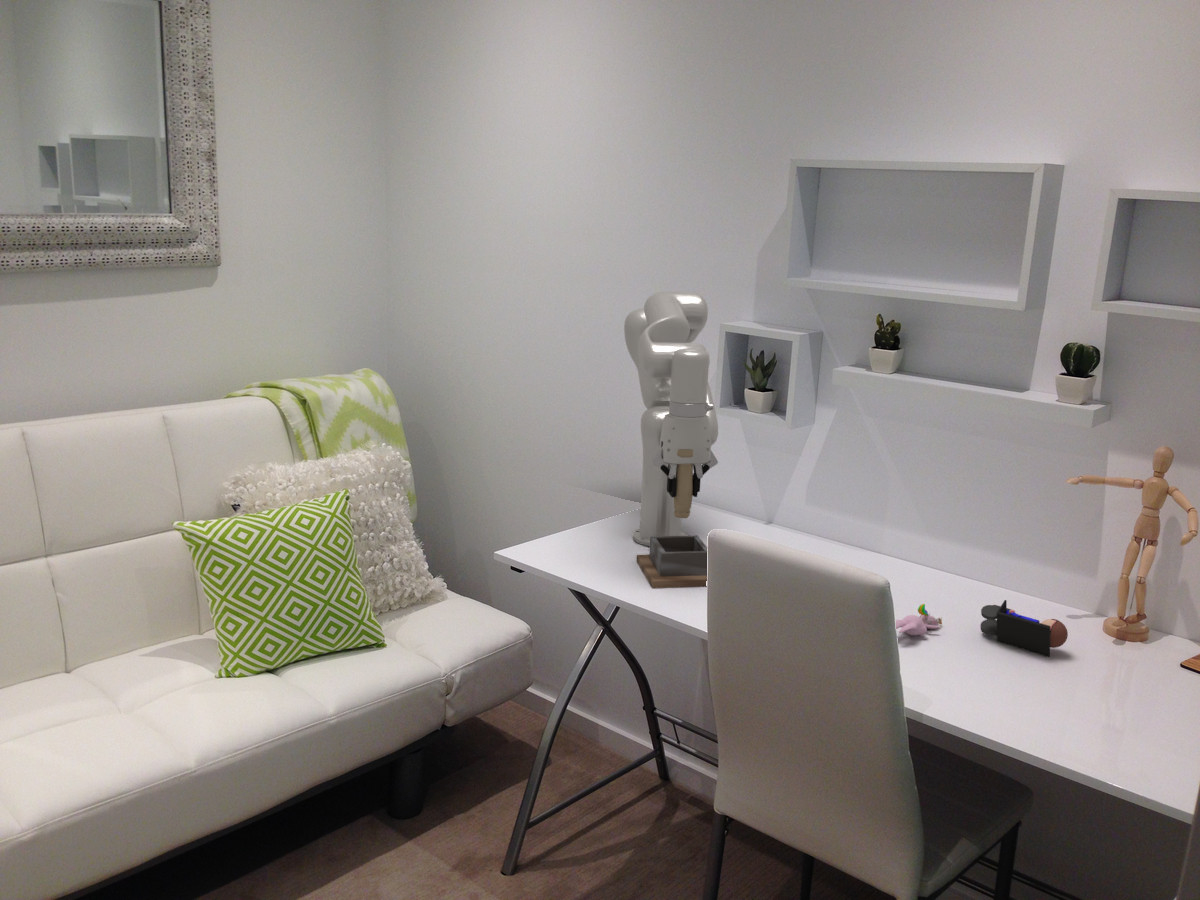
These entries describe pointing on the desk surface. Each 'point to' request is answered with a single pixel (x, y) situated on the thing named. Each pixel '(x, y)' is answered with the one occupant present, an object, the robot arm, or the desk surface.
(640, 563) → the stand
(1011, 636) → the character figurine
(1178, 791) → the desk surface
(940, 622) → the pink unicorn toy
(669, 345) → the robot arm
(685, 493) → the handle
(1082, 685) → the desk surface
